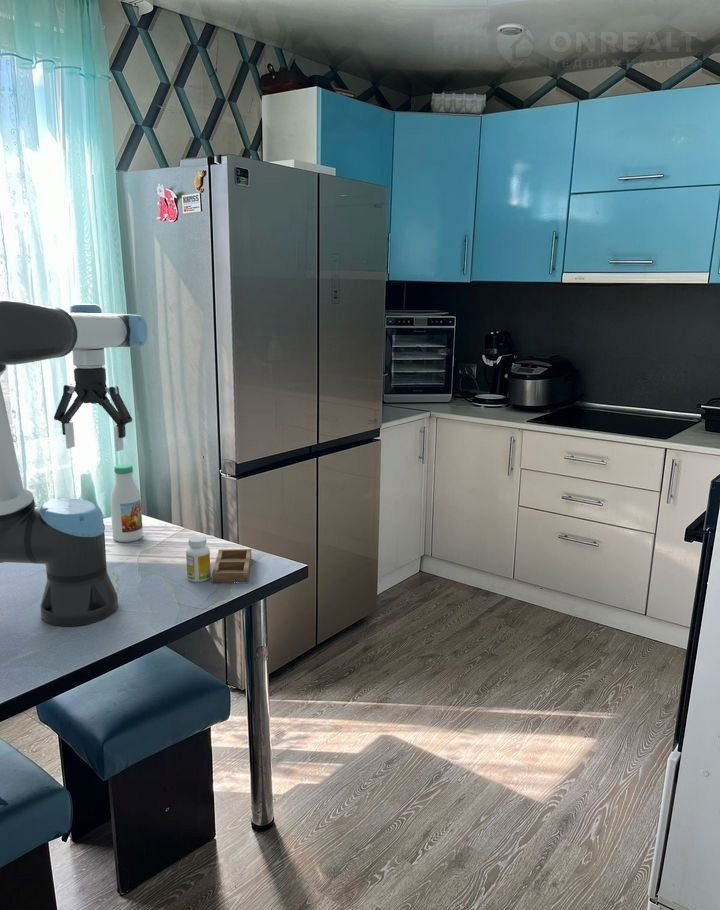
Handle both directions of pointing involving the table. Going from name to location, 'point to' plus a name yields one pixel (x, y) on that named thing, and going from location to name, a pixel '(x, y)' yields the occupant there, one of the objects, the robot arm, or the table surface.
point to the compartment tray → (232, 566)
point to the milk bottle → (125, 506)
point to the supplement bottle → (198, 559)
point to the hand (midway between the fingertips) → (94, 448)
